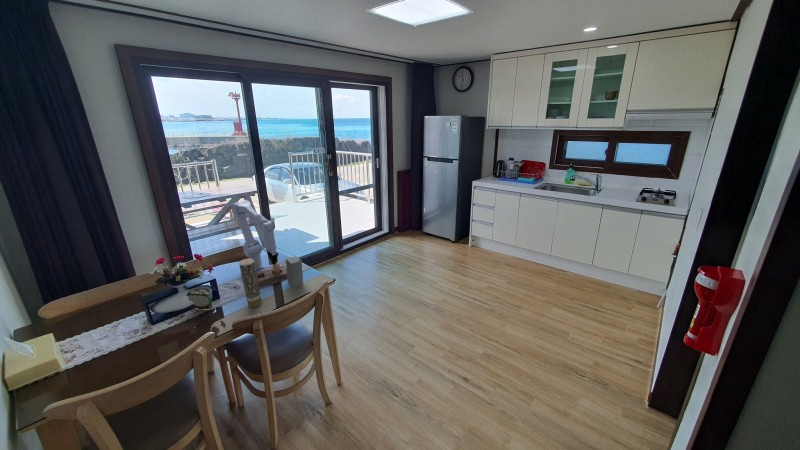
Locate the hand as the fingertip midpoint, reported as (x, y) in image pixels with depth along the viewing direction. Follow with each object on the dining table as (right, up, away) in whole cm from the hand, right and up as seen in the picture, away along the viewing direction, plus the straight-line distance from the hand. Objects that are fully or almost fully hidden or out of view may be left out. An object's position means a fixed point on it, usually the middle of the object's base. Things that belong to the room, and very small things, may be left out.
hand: (273, 261), depth 188 cm
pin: (+2, -9, +2) cm, 9 cm away
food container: (-24, -21, -27) cm, 42 cm away
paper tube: (+1, -20, -25) cm, 32 cm away
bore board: (-2, -10, -1) cm, 10 cm away
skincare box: (+16, -12, -6) cm, 21 cm away
